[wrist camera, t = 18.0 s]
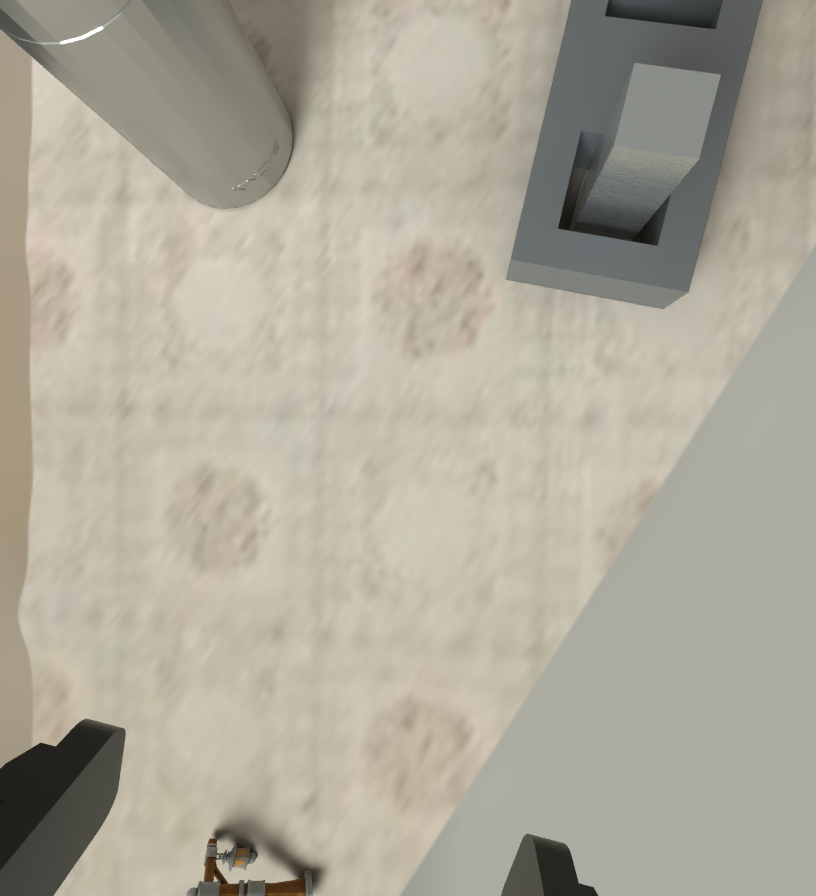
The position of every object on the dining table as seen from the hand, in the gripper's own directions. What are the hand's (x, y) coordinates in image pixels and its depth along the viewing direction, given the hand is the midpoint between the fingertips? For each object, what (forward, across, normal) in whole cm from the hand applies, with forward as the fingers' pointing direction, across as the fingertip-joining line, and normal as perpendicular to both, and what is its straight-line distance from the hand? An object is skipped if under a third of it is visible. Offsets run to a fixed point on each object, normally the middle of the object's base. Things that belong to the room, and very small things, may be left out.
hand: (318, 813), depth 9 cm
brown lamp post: (+19, -3, -29) cm, 35 cm away
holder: (+27, +8, +24) cm, 37 cm away
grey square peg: (+26, +8, +19) cm, 34 cm away
